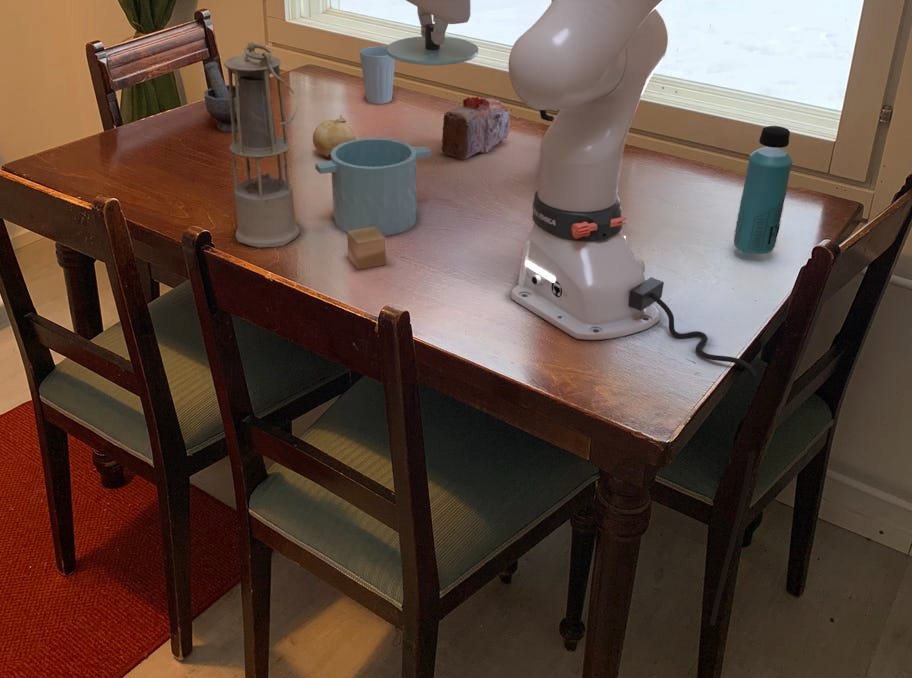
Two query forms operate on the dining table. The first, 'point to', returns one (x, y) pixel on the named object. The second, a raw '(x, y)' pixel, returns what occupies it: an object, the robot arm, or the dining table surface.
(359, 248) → the block
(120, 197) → the dining table surface
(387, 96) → the cup
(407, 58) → the pot lid
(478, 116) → the food item
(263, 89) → the lamp
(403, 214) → the pot
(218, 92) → the mortar and pestle
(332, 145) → the onion
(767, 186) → the beverage bottle
